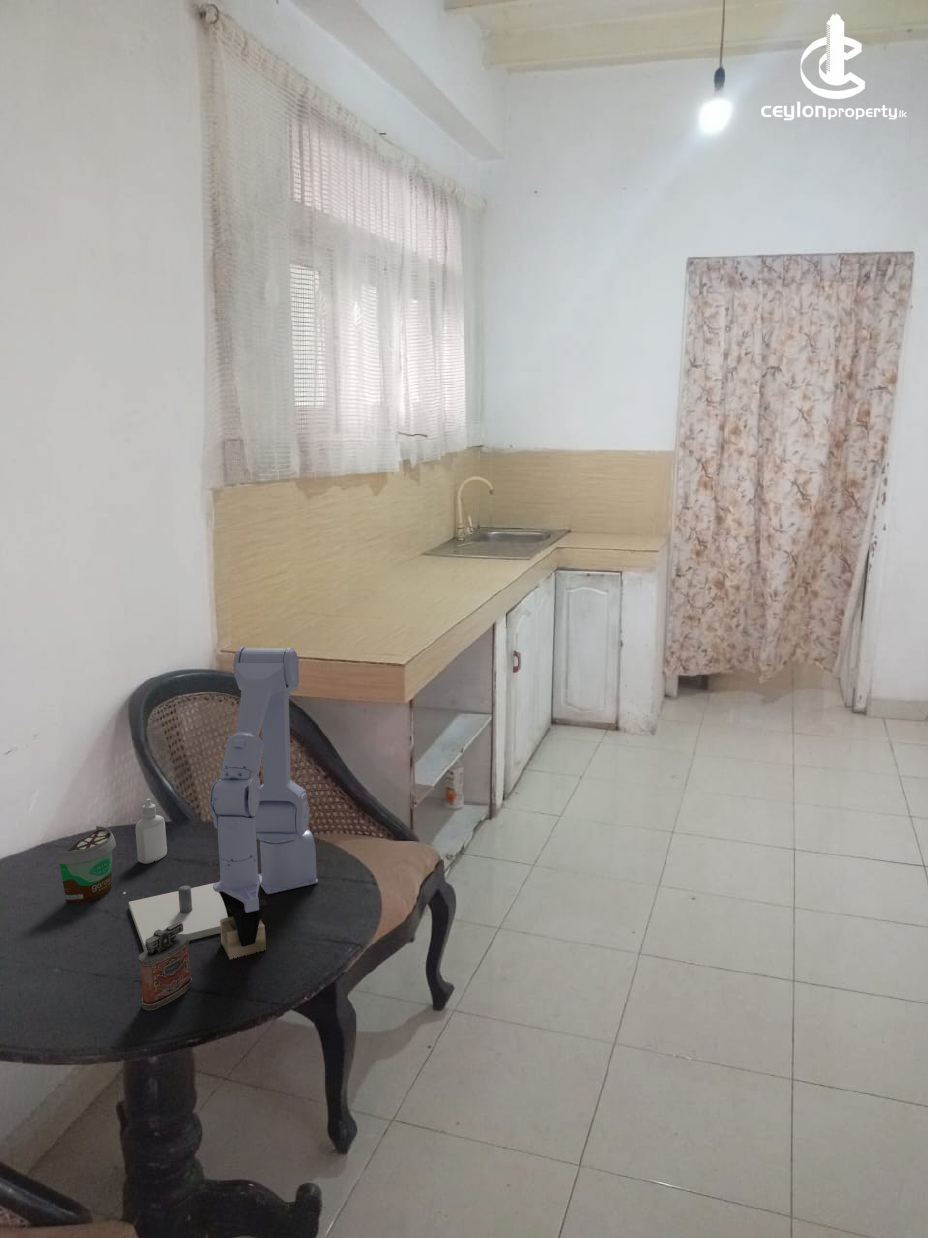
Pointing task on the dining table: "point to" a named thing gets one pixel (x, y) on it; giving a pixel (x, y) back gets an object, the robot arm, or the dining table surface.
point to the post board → (180, 912)
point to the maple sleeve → (232, 941)
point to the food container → (88, 867)
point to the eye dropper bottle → (150, 835)
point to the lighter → (165, 967)
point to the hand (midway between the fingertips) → (242, 935)
